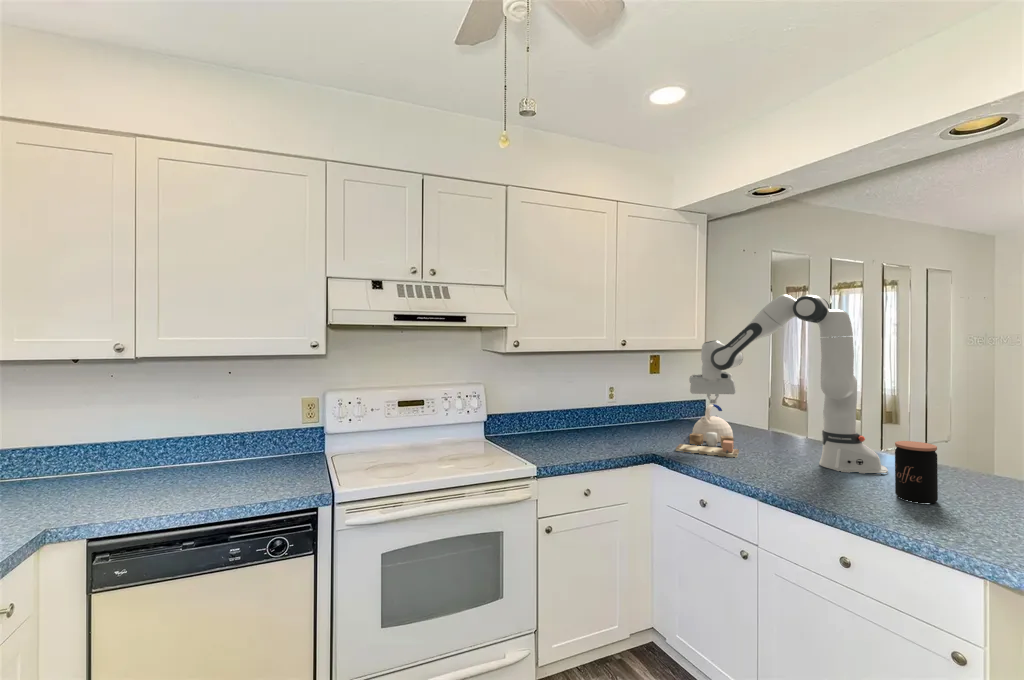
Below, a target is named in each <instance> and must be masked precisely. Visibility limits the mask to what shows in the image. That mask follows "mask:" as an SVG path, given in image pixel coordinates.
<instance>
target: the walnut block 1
mask: <svg viewBox="0 0 1024 680" xmlns="http://www.w3.org/2000/svg"><path fill="white" fill-rule="evenodd" d="M690 444H695V446H697V445H701V444H702V445H704V441H703V434H697V433H692V432H691V433H689V445H690ZM702 445H701V446H702Z"/></svg>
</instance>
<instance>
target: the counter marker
mask: <svg viewBox="0 0 1024 680" xmlns="http://www.w3.org/2000/svg"><path fill="white" fill-rule="evenodd" d="M723 451H726V452H733V441H728V440H724V441H723Z"/></svg>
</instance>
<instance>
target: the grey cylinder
mask: <svg viewBox="0 0 1024 680" xmlns="http://www.w3.org/2000/svg"><path fill="white" fill-rule="evenodd" d="M705 442H706V446H707V445H708V446H707V447H718V442H717V433H715V432H707V433H706V441H705Z"/></svg>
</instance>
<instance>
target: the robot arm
mask: <svg viewBox="0 0 1024 680" xmlns="http://www.w3.org/2000/svg"><path fill="white" fill-rule="evenodd" d="M793 318H797V319H799V320H801V321H804V322H809V323H814V324H817V325H818V327H819V339H820V340H819V341H820V352H821V353H820V354H821V355H820V357H821V359H820V360H821V362H820V389H821V391H822V393H823V394H824V404H823V413H822V415H823V416H822V417H823V418H822V419H823V421H822V422H823V428H822V429H823V430H822V431H821V432H822V433H821V443H822V450H821V457H820V460H819V462H818V464H819V466H821V467H824V468H827V469H831V470H834V471H837V472H839V471H841V472H840V473H850V472H859V473H858V474H865V473H887V472H888V473H889V470H888V468H887V467H886V466H884V465H882V463H881V459H880V457H879V455H878V453H876V452H875V451H874V450H873V449H871V448H870V447H868V446H867V445H866V444H864V443H863V442H865V440H866V437H864V436H863V435H861V434H860V433H858V432H857V403H858V402H857V401H858V380H857V378H856V376H855V375H854V374H855V373H854V369H855V367H854V361H855V348H854V333H853V326H852V322H851V319H850V318H851V317H850V315H849V313H848V312H846V311H844V310H841V309H832V308H831V309H830V305H829V302H828V301H827V300H826V299H825V298H822V297H821V296H819V295H816V294H815V295H814V294H806V295H802V296H800V297H798V298H797V299H796V298H794V297H792V296H791V295H790V294H789V295H788V294H781V295H779V296H777V297H776V298H774V299H772V300H771V301H770V302H768V303H767V304H766V305H765V306H764V307H763V308H762V309H761V310H760V311H759V312H758V313H757V314H756V315H755V316H754V317H753V319H752V320H751V321H750V322H749V323H748V324H747V325H746V326H745V328H743V329H742V330H741V331H740V332H739V333H738V334H737V335H735V336H734V337H733V338H732V339H731V340H730V341H729V342H728V343H726V344H724V343H723V342H720V341H719V340H717V339H716V340H709V341H706V342H704V343H703V344H702V345H701V350H700V351H701V355H700V356H701V357H700V358H701V363H702V366H701V374H692V375H690V376H689V379H688V380H689V383H690V387H689V388H690V389H689V392H690V393H691V394H692V395H695V394H696V395H698V394H699V395H706V397H707V399H708V400H709V404H715V405H717V400H718V398H719V396H720V395H735V394H736V393H737V389H736V387H737V386H736V383H735V380H734V379H733V374H732V373H730V372H728V371H725V370H728V369H733V368H737V367H738V366H740V365H741V364H742V363H743V361H744V354H743V352H742V351H743V350H745V349H746V348H747V347H748V346H749V345H750V344H751V343H753V342H755V341H757V340H759V339H763V338H766V337H769V336H771V335H774V334H775V333H777V332H778V330H780V329H782V327H784V326H785V325H786V323H788V322H789V321H790V320H792V319H793ZM711 395H714V397H715V398H714V399H712V398H711ZM888 473H887V474H888Z"/></svg>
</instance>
